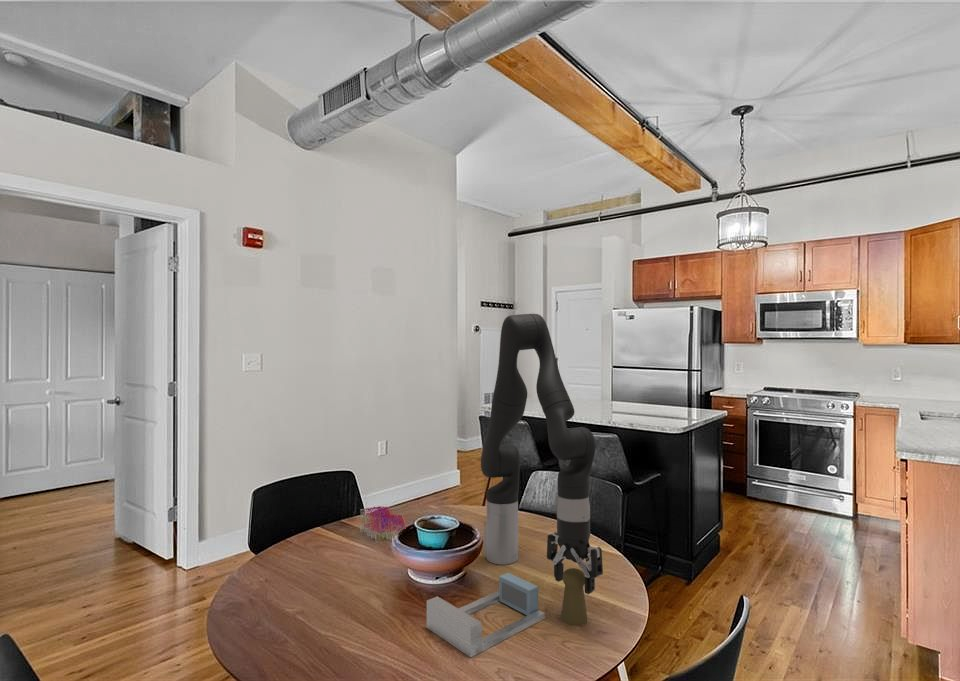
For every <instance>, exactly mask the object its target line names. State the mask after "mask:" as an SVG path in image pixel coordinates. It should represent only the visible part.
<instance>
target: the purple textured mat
mask: <svg viewBox="0 0 960 681" xmlns="http://www.w3.org/2000/svg"><path fill="white" fill-rule="evenodd" d="M391 511H392V510H391V508H390V506H373V507H367V508H362V509H361V508H360V519H362V520H363V519H364V521H365V523H361V524H359V526H360V527H359V528H360V530H359V531H360V533H364V535H366V536H367V537H370V539H371V540H374V542H378V541H379V542H381V539H389V540H392V536H393V537H394V534H396V533H395V532H398V531H400V529H401V528H402V527H404V526H407V525H406V521H405V518H404V514H392V512H391ZM404 528H405V527H404ZM388 535H389V536H388Z"/></svg>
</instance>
